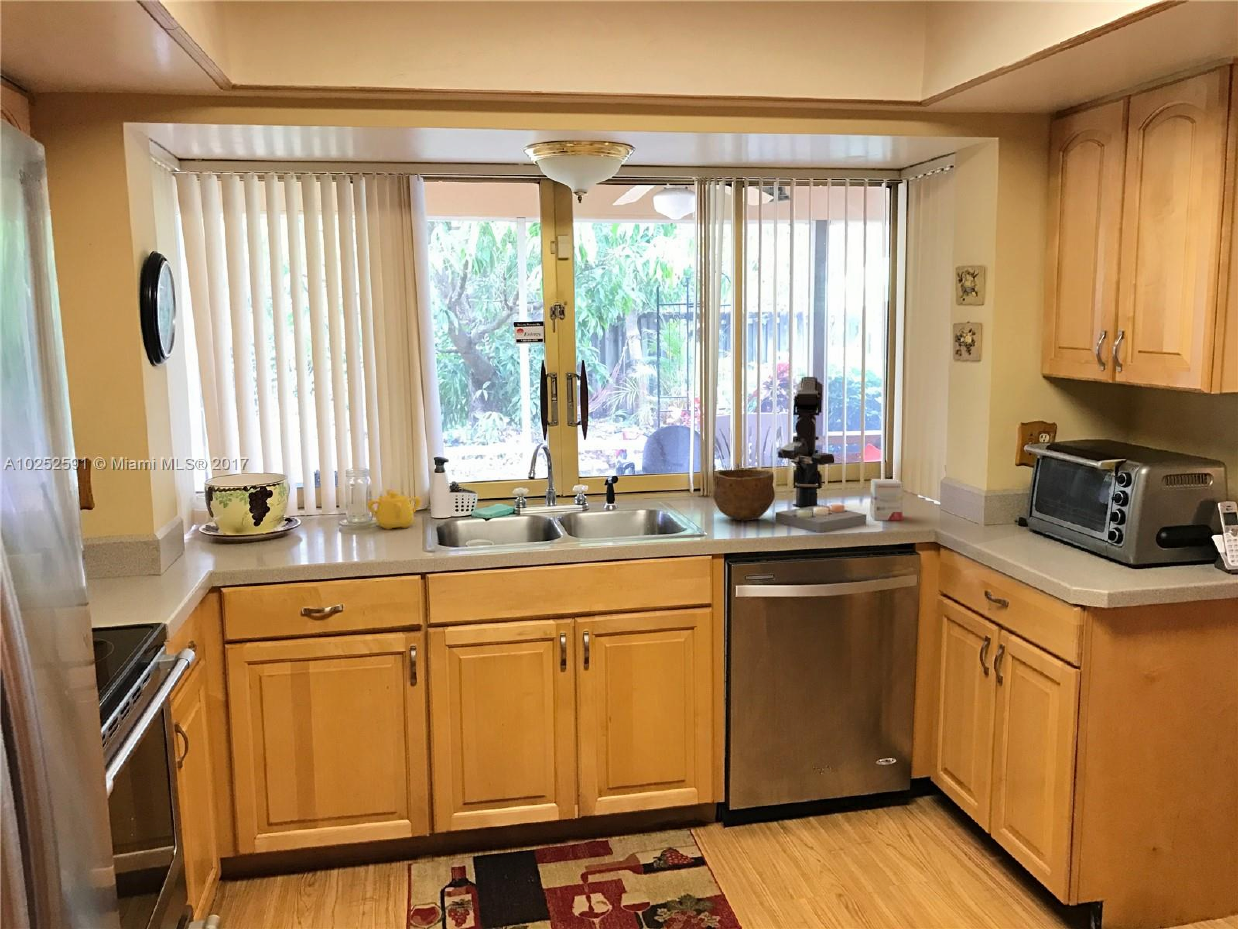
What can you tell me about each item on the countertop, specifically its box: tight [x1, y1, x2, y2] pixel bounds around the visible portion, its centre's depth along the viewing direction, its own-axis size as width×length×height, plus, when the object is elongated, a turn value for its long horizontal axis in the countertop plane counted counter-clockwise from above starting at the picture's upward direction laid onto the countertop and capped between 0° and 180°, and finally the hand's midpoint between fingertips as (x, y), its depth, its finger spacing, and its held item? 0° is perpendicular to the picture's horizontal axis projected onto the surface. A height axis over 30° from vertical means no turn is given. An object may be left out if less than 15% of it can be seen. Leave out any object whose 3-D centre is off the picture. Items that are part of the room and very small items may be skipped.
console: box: [774, 504, 867, 533], centre depth 293 cm, size 18×20×3 cm
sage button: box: [797, 510, 812, 519], centre depth 289 cm, size 4×4×3 cm
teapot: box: [366, 489, 422, 530], centre depth 290 cm, size 14×13×10 cm
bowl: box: [712, 468, 776, 521], centre depth 297 cm, size 19×19×15 cm
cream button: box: [813, 507, 828, 516], centre depth 293 cm, size 4×4×3 cm
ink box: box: [869, 478, 904, 521], centre depth 300 cm, size 9×9×12 cm
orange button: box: [829, 503, 846, 513], centre depth 297 cm, size 4×4×3 cm
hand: (804, 483), depth 297 cm, fingers closed
